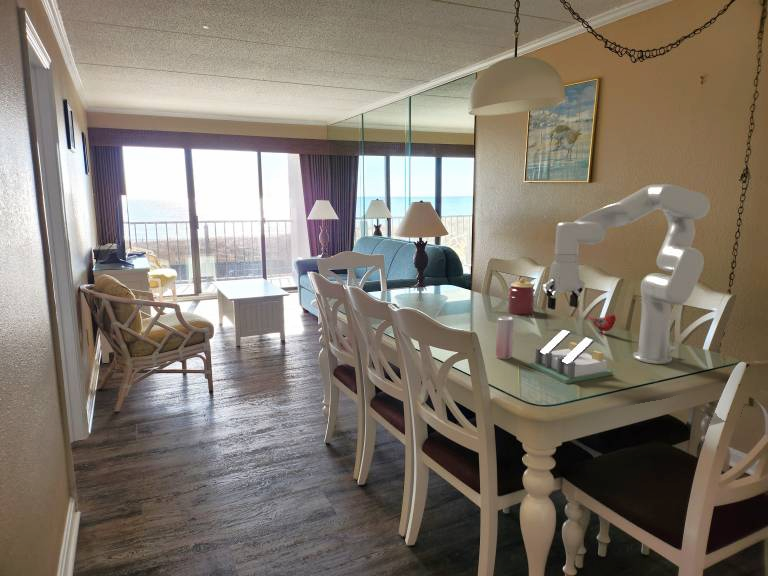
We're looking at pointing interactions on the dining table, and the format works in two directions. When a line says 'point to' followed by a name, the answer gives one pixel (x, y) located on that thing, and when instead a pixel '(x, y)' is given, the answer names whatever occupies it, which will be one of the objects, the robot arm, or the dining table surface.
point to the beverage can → (504, 337)
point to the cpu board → (571, 365)
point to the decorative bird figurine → (604, 323)
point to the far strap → (555, 342)
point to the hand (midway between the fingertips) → (562, 307)
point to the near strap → (577, 351)
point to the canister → (521, 298)
